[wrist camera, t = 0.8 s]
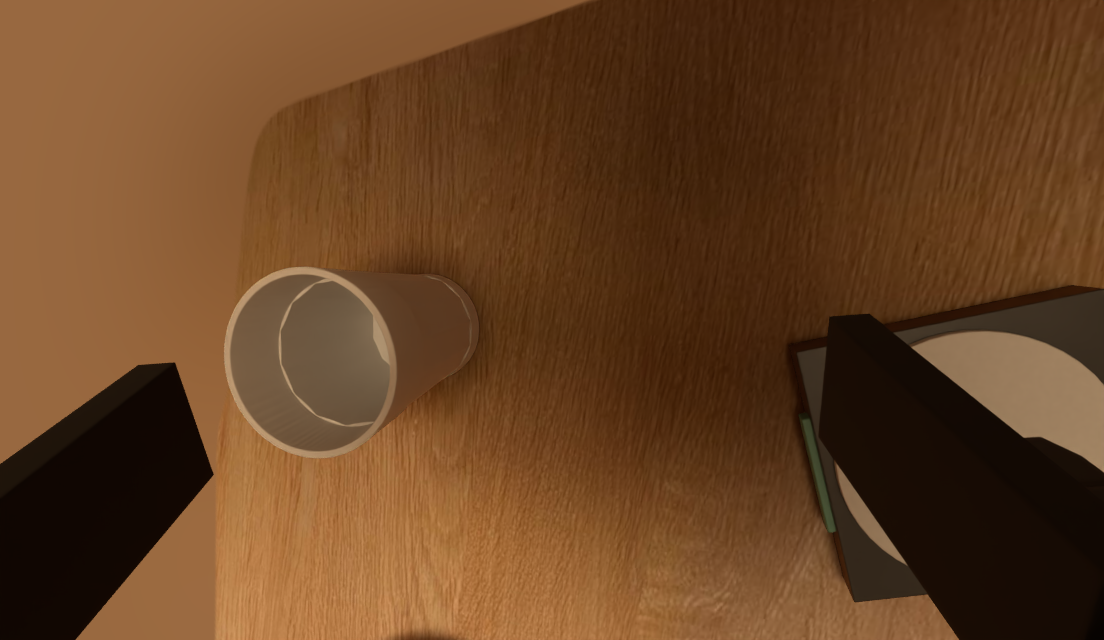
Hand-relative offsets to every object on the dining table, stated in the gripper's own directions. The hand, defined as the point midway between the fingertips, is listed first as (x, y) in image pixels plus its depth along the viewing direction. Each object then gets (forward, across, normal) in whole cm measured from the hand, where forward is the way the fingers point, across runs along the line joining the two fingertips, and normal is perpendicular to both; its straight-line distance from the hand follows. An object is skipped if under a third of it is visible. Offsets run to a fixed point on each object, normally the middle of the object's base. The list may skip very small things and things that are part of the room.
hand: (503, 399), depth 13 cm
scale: (+16, +20, -13) cm, 29 cm away
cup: (+23, -7, -8) cm, 25 cm away
